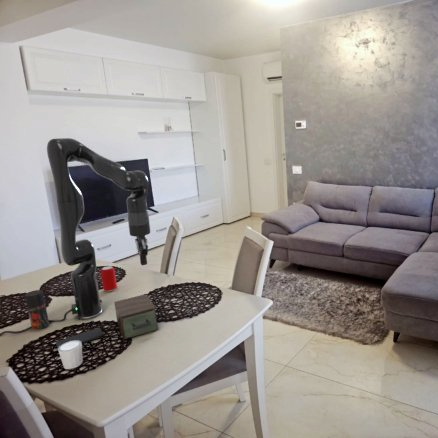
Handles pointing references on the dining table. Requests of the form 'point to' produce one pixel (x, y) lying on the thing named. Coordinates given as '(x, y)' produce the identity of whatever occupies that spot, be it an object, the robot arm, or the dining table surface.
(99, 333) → the phone
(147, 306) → the cabinet
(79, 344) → the white cup
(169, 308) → the dining table surface
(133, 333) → the drawer
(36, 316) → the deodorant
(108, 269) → the beverage can
